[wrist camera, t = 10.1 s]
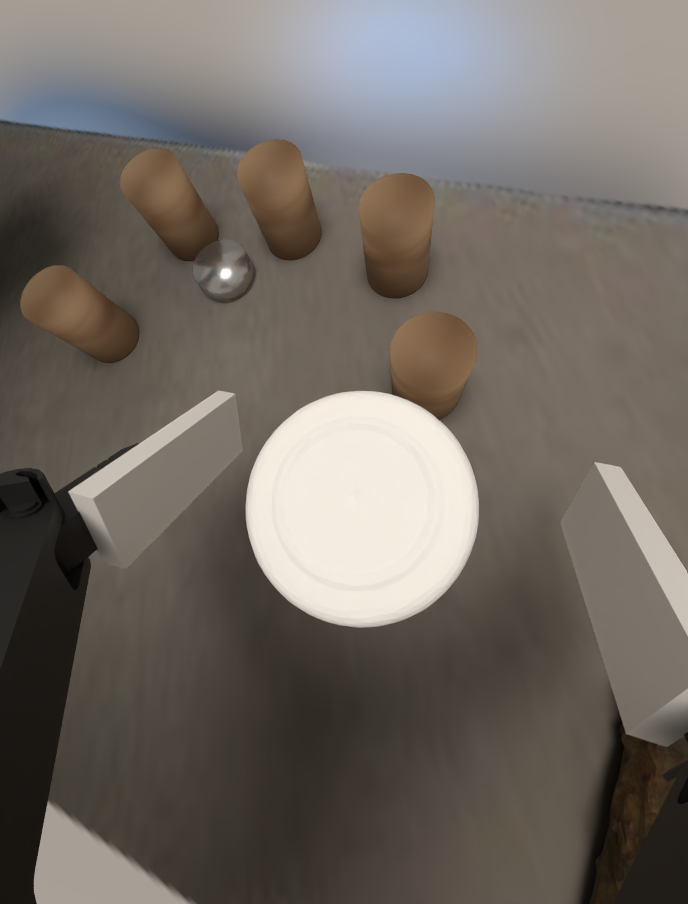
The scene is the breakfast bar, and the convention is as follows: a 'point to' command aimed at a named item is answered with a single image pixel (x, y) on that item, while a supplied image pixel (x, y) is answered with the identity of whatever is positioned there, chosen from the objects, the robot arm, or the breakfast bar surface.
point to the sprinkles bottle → (362, 509)
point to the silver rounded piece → (224, 271)
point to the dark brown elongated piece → (634, 809)
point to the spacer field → (289, 237)
